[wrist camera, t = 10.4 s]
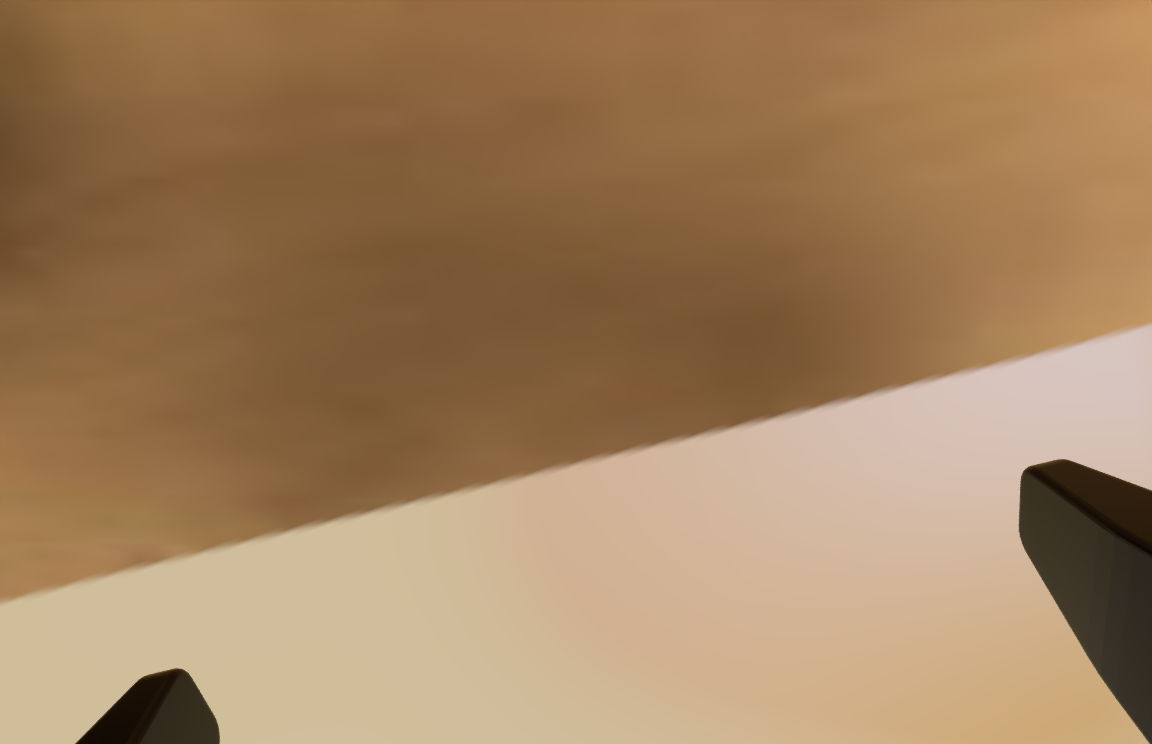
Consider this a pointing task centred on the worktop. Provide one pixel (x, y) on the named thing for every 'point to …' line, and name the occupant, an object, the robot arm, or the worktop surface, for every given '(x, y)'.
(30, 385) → the worktop surface
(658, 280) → the worktop surface
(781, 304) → the worktop surface
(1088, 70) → the worktop surface
